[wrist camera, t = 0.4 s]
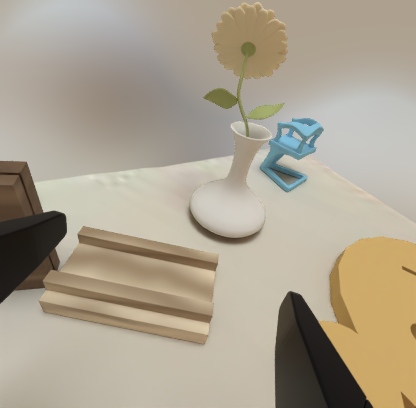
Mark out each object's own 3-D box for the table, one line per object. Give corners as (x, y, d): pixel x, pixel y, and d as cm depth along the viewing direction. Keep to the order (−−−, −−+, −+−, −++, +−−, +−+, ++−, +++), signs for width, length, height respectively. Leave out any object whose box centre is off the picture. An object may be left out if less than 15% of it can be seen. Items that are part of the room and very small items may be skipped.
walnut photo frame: (53, 286, 24) (12, 185, 17) (-21, 293, 23) (-105, 184, 15) (59, 261, 27) (26, 161, 19) (-8, 266, 25) (-75, 158, 17)
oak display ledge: (204, 344, 23) (211, 328, 21) (44, 311, 22) (34, 292, 20) (213, 265, 30) (219, 247, 28) (91, 240, 30) (88, 219, 27)
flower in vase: (272, 215, 39) (361, 27, 24) (240, 259, 31) (343, 18, 16) (206, 180, 44) (244, 1, 28) (163, 210, 36) (182, -17, 20)
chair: (273, 162, 54) (294, 107, 47) (306, 180, 50) (335, 124, 43) (252, 171, 49) (272, 111, 42) (287, 192, 45) (316, 131, 38)
